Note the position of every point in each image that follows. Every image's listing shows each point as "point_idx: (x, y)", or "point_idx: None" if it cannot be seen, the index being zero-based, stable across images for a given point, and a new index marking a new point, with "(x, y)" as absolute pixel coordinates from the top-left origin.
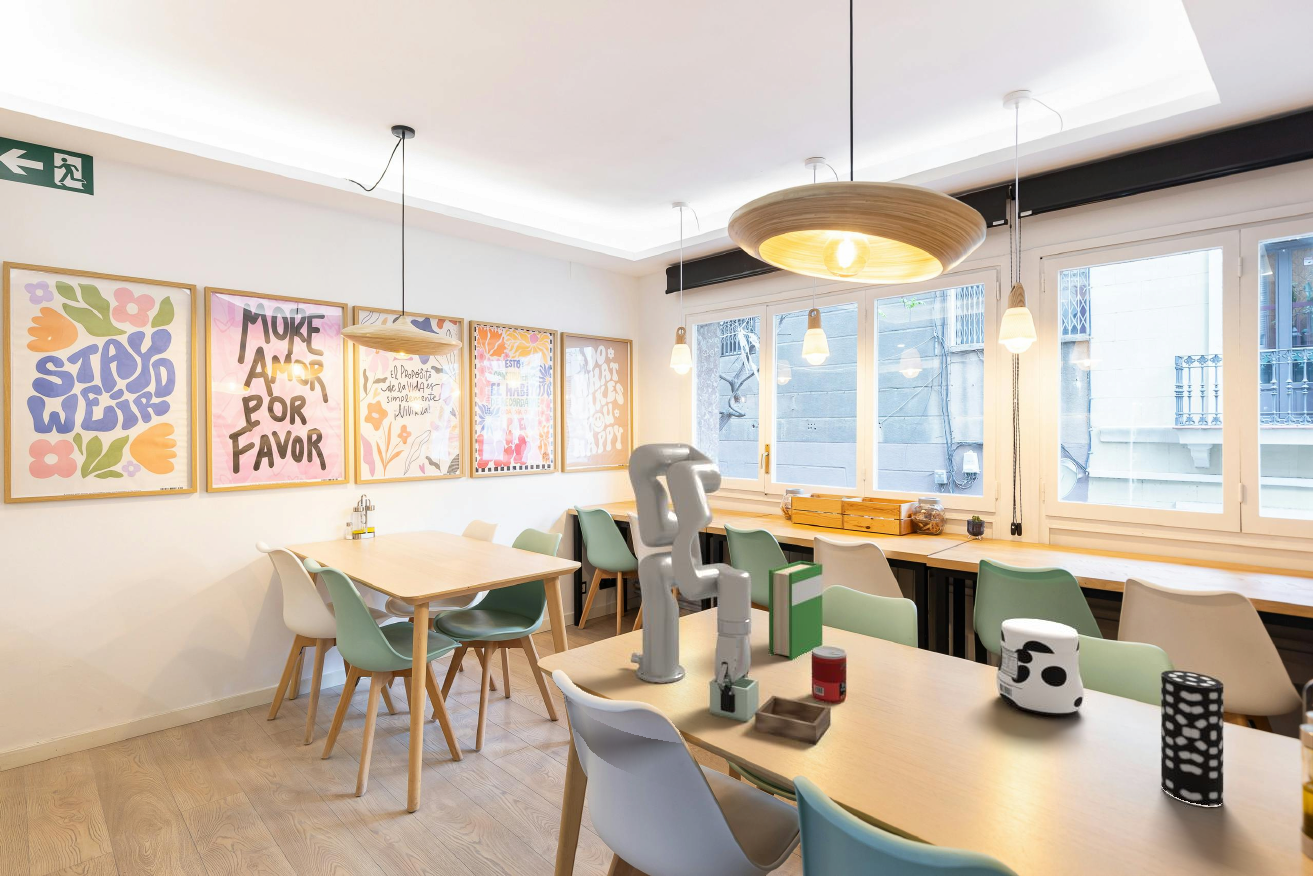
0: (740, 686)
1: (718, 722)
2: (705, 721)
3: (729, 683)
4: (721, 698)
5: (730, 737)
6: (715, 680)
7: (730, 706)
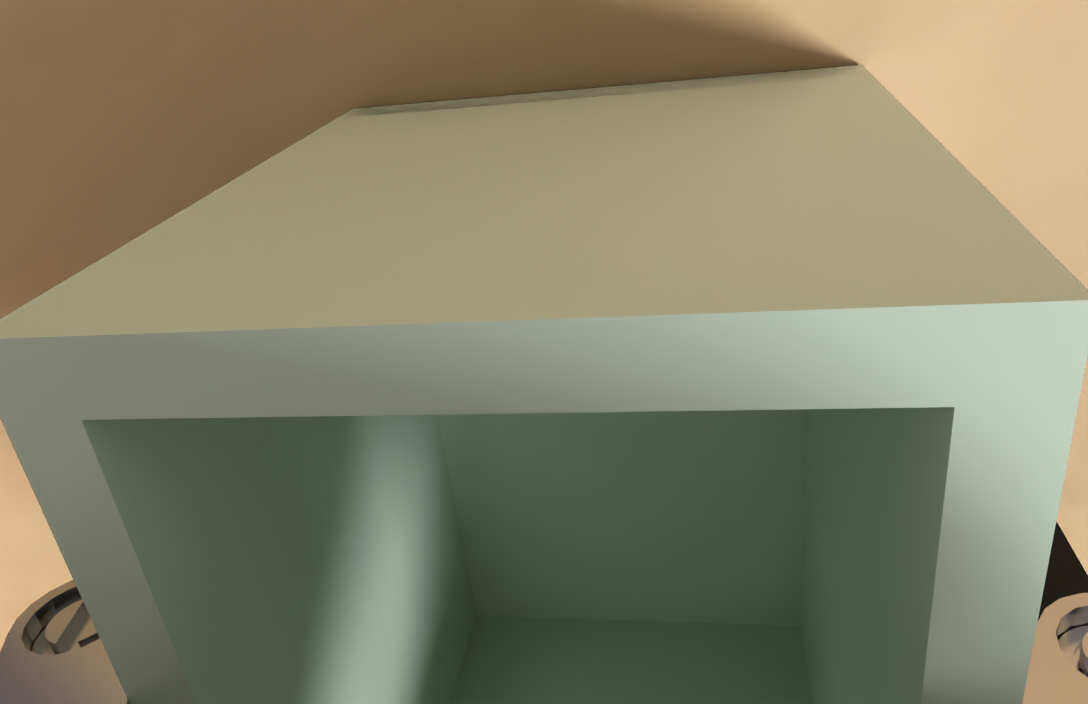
0: (856, 689)
1: None
2: (104, 194)
3: (878, 458)
4: None
5: (44, 593)
6: (232, 416)
7: None
